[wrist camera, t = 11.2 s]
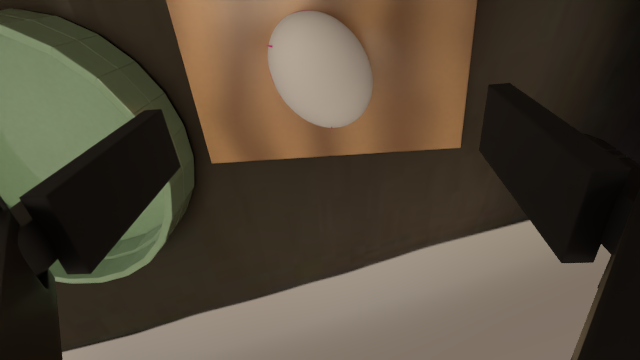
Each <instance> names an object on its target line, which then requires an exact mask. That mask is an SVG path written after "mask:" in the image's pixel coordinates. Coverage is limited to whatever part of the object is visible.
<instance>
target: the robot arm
mask: <svg viewBox="0 0 640 360" xmlns="http://www.w3.org/2000/svg"><path fill="white" fill-rule="evenodd" d="M479 151H480V152H481V153H482V155H483V156H484V158H485V159H486V160H487V162H488V163H489V164H490V166H491V167H492V168H493V170H494V171H495V173H496V174H497V175H498V177H499V178H500V179H501V181H502V182H503V184H504V185H505V186H506V188H507V189H508V190H509V192H510V193H511V195H512V196H513V197H514V199H515V200H516V201H517V203H518V204H519V206H520V207H521V208H522V210H523V211H524V212H525V214H526V215H527V216H528V218H529V219H530V221H531V222H532V223H533V225H534V226H535V227H536V229H537V230H538V231H539V233H540V234H541V236H542V237H543V238H544V240H545V241H546V242H547V244H548V245H549V247H550V248H551V249H552V251H553V252H554V253H555V255H556V256H557V258H558V259H559V260H560V262H561V263H586V262H587V263H589V262H594V260H595V257H596V255H597V252H598V250H599V247H600V245H601V244H602V245H603V246H604V247H605V248H606V249H607V250H608V251H609V253H610V254H611V257H610V260H609V262H608V264H607V267H606V269H605V271H604V274H603V276H602V278H601V281H600V283H599V285H598V290H597V293H596V295H595V298H594V301H593V303H592V306H591V309H590V311H589V314H588V316H587V319H586V322H585V324H584V327H583V329H582V332H581V335H580V337H579V340H578V343H577V345H576V348H575V350H574V353H573V356H572V358H571V360H640V165H639V164H638V163H636V162H635V161H633V160H632V159H630V158H629V157H626V155H624V154H623V153H621V152H620V151H618V150H616V148H614V147H613V146H611V145H610V144H608V143H607V142H605V141H604V140H601V139H598V138H595V137H593V136H590V135H587V134H582V133H580V132H579V131H577V130H576V129H574V128H573V127H572V126H570V125H569V124H567V123H566V122H564V121H563V120H562V119H560V118H559V117H557V116H556V115H555V114H553V113H552V112H550V111H549V110H547V109H546V108H545V107H543V106H542V105H540V104H539V103H537V102H536V101H535V100H533V99H532V98H530V97H529V96H527V95H526V94H525V93H523V92H522V91H520V90H519V89H517V88H516V87H515V86H513V85H512V84H510V83H506V84H492V85H489V86H488V93H487V100H486V107H485V113H484V120H483V127H482V134H481V141H480V147H479ZM180 167H181V166H180V163H179V160H178V157H177V154H176V151H175V148H174V145H173V142H172V139H171V136H170V133H169V130H168V127H167V124H166V121H165V118H164V115H163V112H162V109H154V110H144V111H142V112H141V113H140V114H138V115H137V116H135V117H134V118H132V119H131V120H129V121H128V122H127V123H125V124H124V125H122V126H121V127H119V128H118V129H117V130H115V131H114V132H112V133H111V134H109V135H108V136H107V137H105V138H104V139H102V140H101V141H99V142H98V143H97V144H95V145H94V146H92V147H91V148H89V149H88V150H87V151H85V152H84V153H82V154H81V155H79V156H78V157H76V158H75V159H74V160H72V161H71V162H69V163H68V164H66V165H65V166H64V167H62V168H61V169H59V170H58V171H56V172H55V173H54V174H52V175H51V176H49V177H48V178H46V179H45V180H44V181H42V182H41V183H39V184H38V185H36V186H35V187H33V188H32V189H31V190H29V191H28V192H26V193H25V194H23V195H22V196H21V197H19V199H20V200H21V201H20V202H18V203H17V204H15V205H14V206H13V207H11V208H10V209H9V208H8V206H7V205H6V203H5V202H4V200H3V199H2V197H1V196H0V360H62V349H61V339H60V328H59V317H58V306H57V295H56V284H55V277H54V276H53V274H52V273H51V271H50V270H49V267H50V266H51V265H52V264H53V263H54V262H55V261H56V260H57V259H58V260H59V262H60V264H61V265H62V267H63V268H64V270H65V272H66V273H67V274H91V273H92V272H93V271H94V270H95V268H96V267H97V266H98V265H99V264H100V263H101V261H102V260H103V259H104V258H105V257H106V255H107V254H108V253H109V252H110V251H111V249H112V248H113V247H114V246H115V245H116V243H117V242H118V241H119V240H120V239H121V237H122V236H123V235H124V234H125V233H126V232H127V230H128V229H129V228H130V227H131V226H132V224H133V223H134V222H135V221H136V220H137V218H138V217H139V216H140V215H141V214H142V212H143V211H144V210H145V209H146V208H147V206H148V205H149V204H150V203H151V202H152V201H153V199H154V198H155V197H156V196H157V195H158V193H159V192H160V191H161V190H162V189H163V187H164V186H165V185H166V184H167V183H168V181H169V180H170V179H171V178H172V177H173V175H174V174H175V173H176V172H177V171H178V170H179V168H180Z"/></svg>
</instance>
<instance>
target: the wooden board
mask: <svg viewBox="0 0 640 360" xmlns="http://www.w3.org/2000/svg"><path fill="white" fill-rule="evenodd" d="M166 2H167V6H168V9H169V13H170V16H171V20H172V23H173V27H174V31H175V34H176V38H177V41H178V45H179V48H180V52H181V55H182V59H183V63H184V66H185V70H186V73H187V77H188V80H189V84H190V88H191V91H192V95H193V98H194V102H195V105H196V109H197V113H198V116H199V120H200V123H201V127H202V130H203V134H204V137H205V141H206V145H207V148H208V152H209V155H210V159H211V162H212V163H226V162H242V161H258V160H274V159H289V158H305V157H321V156H337V155H353V154H369V153H384V152H400V151H416V150H432V149H448V148H460V147H461V138H462V130H463V121H464V112H465V103H466V95H467V86H468V77H469V68H470V60H471V51H472V42H473V33H474V25H475V16H476V7H477V0H166ZM303 10H312V11H318V12H322V13H325V14H327V15H330V16H332V17H334V18H335V19H337V20H338V21H340V22H341V23H343V24H344V25H345V26H346V27H347V28H348V29H349V30H350V31H351V32H352V33H353V34H354V35H355V36H356V38H357V39H358V40H359V42H360V43H361V45H362V47H363V49H364V51H365V53H366V55H367V57H368V60H369V63H370V66H371V71H372V79H373V88H372V95H371V99H370V102H369V104H368V107H367V108H366V110H365V111H364V113H363V114H362V115H361V116H360V117H359V118H358V119H357V120H356V121H354V122H353V123H351V124H349V125H346V126H343V127H338V128H332V133H331V128H327V127H322V126H318V125H315V124H313V123H310V122H308V121H307V120H305V119H303V118H302V117H300V116H299V115H298V114H296V113H295V112H294V111H293V110H292V109H291V108H290V107H289V106H288V105H287V104H286V103H285V101H284V100H283V99H282V97H280V94H279V93H278V91H277V89H276V87H275V85H274V83H273V80H272V77H271V74H270V70H269V65H268V46H266V45H269V41H270V38H271V35H272V32H273V31H274V29H275V27H276V26H277V24H278V23H279V22H280V21H281V20H282V19H283V18H285V17H286V16H288V15H290V14H292V13H294V12H298V11H303Z"/></svg>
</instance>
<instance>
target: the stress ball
mask: <svg viewBox="0 0 640 360" xmlns="http://www.w3.org/2000/svg"><path fill="white" fill-rule="evenodd" d="M266 46H268V65H269V70H270V74H271V77H272V80H273V83H274V85H275V87H276V89H277V91H278V93H279V94H280V97H282V99H283V100H284V101H285V103H286V104H287V105H288V106H289V107H290V108H291V109H292V110H293V111H294V112H295V113H296V114H298V115H299V116H300V117H302V118H303V119H305V120H307V121H308V122H310V123H313V124H315V125H318V126H322V127H327V128H331V133H332V128H338V127H343V126H346V125H349V124H351V123H353V122H354V121H356V120H357V119H358V118H359V117H360V116H361V115H362V114H363V113H364V111H365V110H366V108H367V107H368V104H369V102H370V99H371V95H372V88H373V79H372V71H371V66H370V63H369V60H368V57H367V55H366V53H365V51H364V49H363V47H362V45H361V43H360V42H359V40H358V39H357V38H356V36H355V35H354V34H353V33H352V32H351V31H350V30H349V29H348V28H347V27H346V26H345V25H344V24H343V23H341V22H340V21H338V20H337V19H335V18H334V17H332V16H330V15H327V14H325V13H322V12H318V11H312V10H303V11H298V12H294V13H292V14H290V15H288V16H286V17H285V18H283V19H282V20H281V21H280V22H279V23H278V24H277V26H276V27H275V29H274V31H273V32H272V35H271V38H270V41H269V45H266Z"/></svg>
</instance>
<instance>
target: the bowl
mask: <svg viewBox="0 0 640 360" xmlns="http://www.w3.org/2000/svg"><path fill="white" fill-rule="evenodd" d="M154 109H162V112H163V115H164V118H165V121H166V124H167V127H168V130H169V133H170V136H171V139H172V142H173V145H174V148H175V151H176V154H177V157H178V160H179V163H180V166H181V167H180V168H179V170H178V171H177V172H176V173H175V174H174V175H173V177H172V178H171V179H170V180H169V181H168V183H167V184H166V185H165V186H164V187H163V189H162V190H161V191H160V192H159V193H158V195H157V196H156V197H155V198H154V199H153V201H152V202H151V203H150V204H149V205H148V206H147V208H146V209H145V210H144V211H143V212H142V214H141V215H140V216H139V217H138V218H137V220H136V221H135V222H134V223H133V224H132V226H131V227H130V228H129V229H128V230H127V232H126V233H125V234H124V235H123V236H122V237H121V239H120V240H119V241H118V242H117V243H116V245H115V246H114V247H113V248H112V249H111V251H110V252H109V253H108V254H107V255H106V257H105V258H104V259H103V260H102V261H101V263H100V264H99V265H98V266H97V267H96V268H95V270H94V271H93V272H92V273H91V274H67V273H66V272H65V270H64V268H63V267H62V265H61V264H60V262H59V260H58V259H57V260H56V261H55V262H54V263H53V264H52V265H51V266H50V267H49V270H50V271H51V273H52V274H53V276H54V277H55V281H58V282H65V283H72V284H75V283H101V282H106V281H110V280H114V279H117V278H121V277H125V276H128V275H130V274H132V273H133V272H135V271H136V270H138V269H140V268H141V267H143V266H145V265H146V264H148V263H149V262H150V261H151V260H152V259H153V258H154V256H155V255H156V254H157V252H158V251H159V250H160V249H161V247H162V246H163V245H164V244H165V242H166V241H167V239H168V238H169V236H170V234H171V233H172V231H173V230H174V228H175V227H176V225H177V224H178V222H179V221H180V219H181V218H182V216H183V214H184V213H185V211H186V210H187V207H188V204H189V201H190V198H191V195H192V192H193V188H194V157H193V153H192V150H191V147H190V144H189V140H188V137H187V134H186V130H185V127H184V125H183V123H182V121H181V119H180V118H179V116H178V114H177V113H176V111H175V109H174V108H173V106H172V104H171V103H170V101H169V99H168V98H167V96H166V94H165V93H164V92H163V91H162V89H161V88H160V87H159V86H158V85H157V84H156V83H155V82H154V81H153V80H152V79H151V78H150V76H149V75H148V74H147V73H146V72H145V71H144V70H143V69H142V68H141V67H140V66H139V65H138V63H137V62H135V61H134V60H133V59H132V58H130V57H129V56H127V55H126V54H125V53H123V52H122V51H120V50H119V49H118V48H116V47H115V46H114V45H112V44H111V43H109V42H108V41H107V40H105V39H104V38H102V37H101V36H99V35H98V34H96V33H94V32H92V31H89V30H87V29H85V28H83V27H80V26H78V25H76V24H74V23H71V22H69V21H67V20H65V19H62V18H60V17H57V16H53V15H48V14H42V13H37V12H32V11H26V10H21V9H6V10H0V196H1V197H2V199H3V200H4V202H5V203H6V205H7V206H8V208H9V209H10V208H11V207H13V206H14V205H15V204H17V203H18V202H20V201H21V200H20V199H19V197H21V196H22V195H23V194H25V193H26V192H28V191H29V190H31V189H32V188H33V187H35V186H36V185H38V184H39V183H41V182H42V181H44V180H45V179H46V178H48V177H49V176H51V175H52V174H54V173H55V172H56V171H58V170H59V169H61V168H62V167H64V166H65V165H66V164H68V163H69V162H71V161H72V160H74V159H75V158H76V157H78V156H79V155H81V154H82V153H84V152H85V151H87V150H88V149H89V148H91V147H92V146H94V145H95V144H97V143H98V142H99V141H101V140H102V139H104V138H105V137H107V136H108V135H109V134H111V133H112V132H114V131H115V130H117V129H118V128H119V127H121V126H122V125H124V124H125V123H127V122H128V121H129V120H131V119H132V118H134V117H135V116H137V115H138V114H140V113H141V112H142V111H144V110H154Z"/></svg>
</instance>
